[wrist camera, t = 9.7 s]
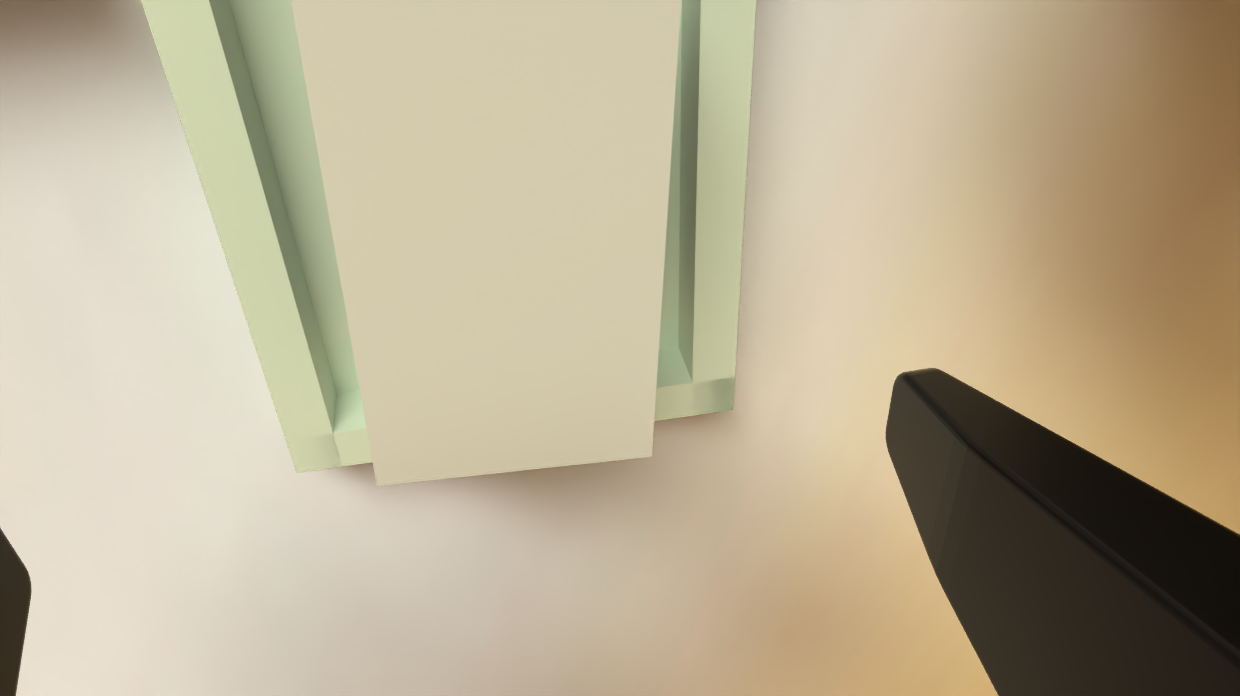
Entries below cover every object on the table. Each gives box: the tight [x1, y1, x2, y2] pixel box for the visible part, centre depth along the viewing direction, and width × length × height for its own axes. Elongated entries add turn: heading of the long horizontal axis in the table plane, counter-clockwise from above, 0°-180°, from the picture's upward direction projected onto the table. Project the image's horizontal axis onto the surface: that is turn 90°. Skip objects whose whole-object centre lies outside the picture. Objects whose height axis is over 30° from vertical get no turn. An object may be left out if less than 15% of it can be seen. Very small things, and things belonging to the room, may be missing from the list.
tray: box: [141, 0, 756, 473], centre depth 18 cm, size 10×14×2 cm
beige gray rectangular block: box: [291, 0, 681, 486], centre depth 16 cm, size 5×9×5 cm, turn 179°
